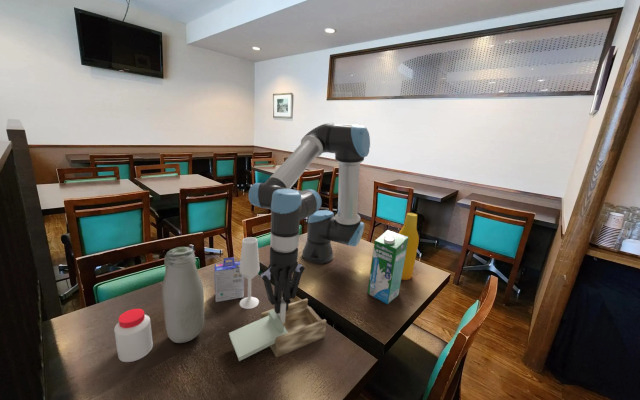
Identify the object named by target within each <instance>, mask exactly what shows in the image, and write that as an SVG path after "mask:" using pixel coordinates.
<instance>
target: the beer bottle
mask: <svg viewBox="0 0 640 400" xmlns="http://www.w3.org/2000/svg"><path fill="white" fill-rule="evenodd" d="M417 224H418V214H417V213H413V212H407V213H406V216H405V220H404V223H403V226H402V227H401V229H400V230H399V232H398V234H401V235H404V236H407V237H409V238H408V244H407V250H406V255H405V261H404V267H403V272H402V278H401V280H404V281H405V280H406V281H407V280H410V279H412V277H413V276H414V275H413V274H414V267H415V263H416V258H417V251H418V247H419V242H420V241H419V240H420V237H419V234H418V230H417Z"/></svg>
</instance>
